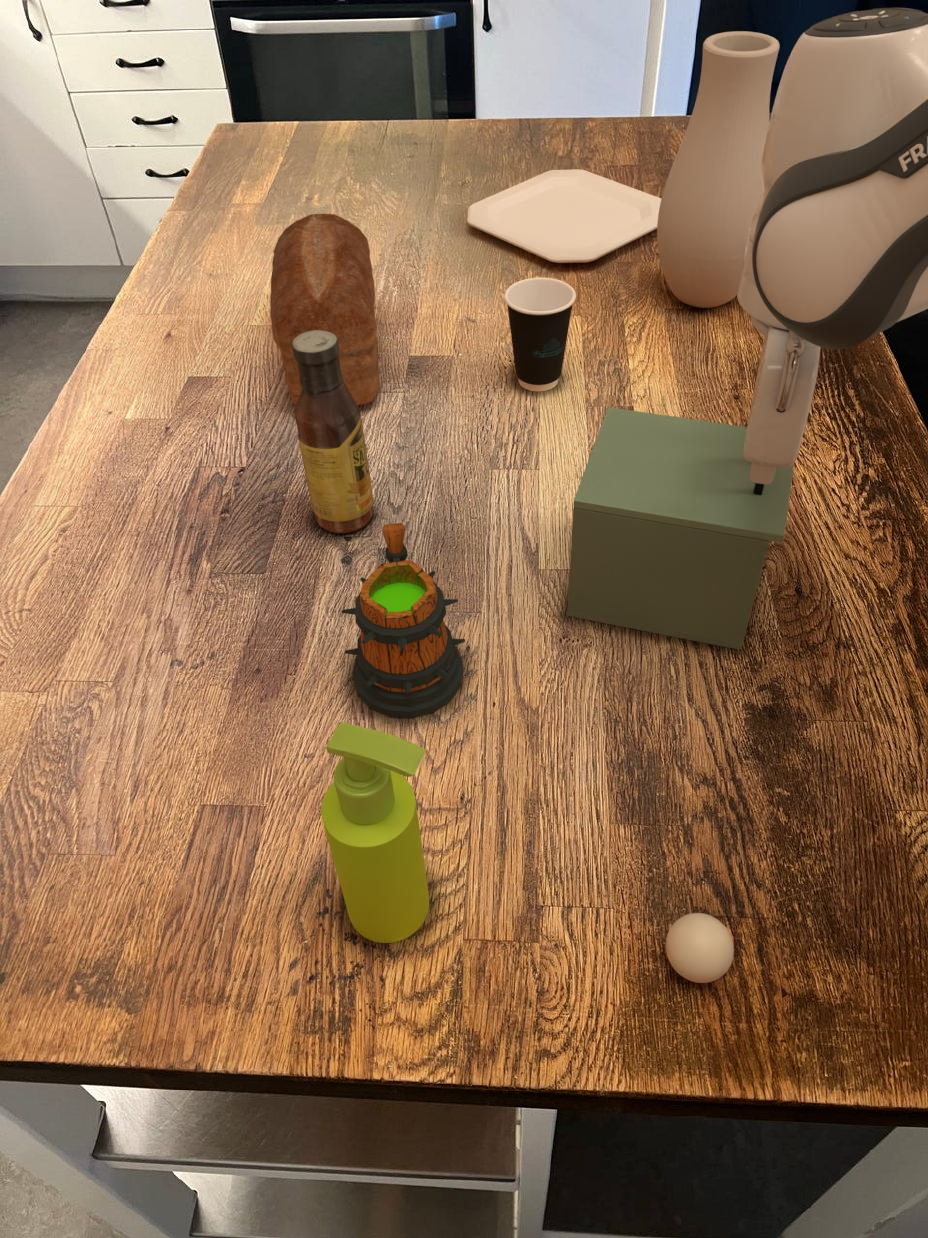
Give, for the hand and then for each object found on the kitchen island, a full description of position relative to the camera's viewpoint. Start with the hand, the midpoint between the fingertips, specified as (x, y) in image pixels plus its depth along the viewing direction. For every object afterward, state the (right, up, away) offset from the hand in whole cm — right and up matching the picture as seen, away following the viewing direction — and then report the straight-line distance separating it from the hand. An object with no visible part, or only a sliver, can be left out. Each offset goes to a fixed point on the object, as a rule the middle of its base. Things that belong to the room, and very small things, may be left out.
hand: (766, 441), depth 76 cm
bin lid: (-5, -2, +4) cm, 7 cm away
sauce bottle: (-36, -4, +22) cm, 43 cm away
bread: (-40, +19, +44) cm, 62 cm away
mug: (-29, -18, +8) cm, 35 cm away
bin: (-5, -11, +14) cm, 18 cm away
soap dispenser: (-29, -35, -7) cm, 46 cm away
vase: (+7, +28, +50) cm, 58 cm away
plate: (-9, +44, +66) cm, 80 cm away
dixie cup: (-15, +14, +38) cm, 43 cm away
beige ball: (-8, -36, -13) cm, 39 cm away
